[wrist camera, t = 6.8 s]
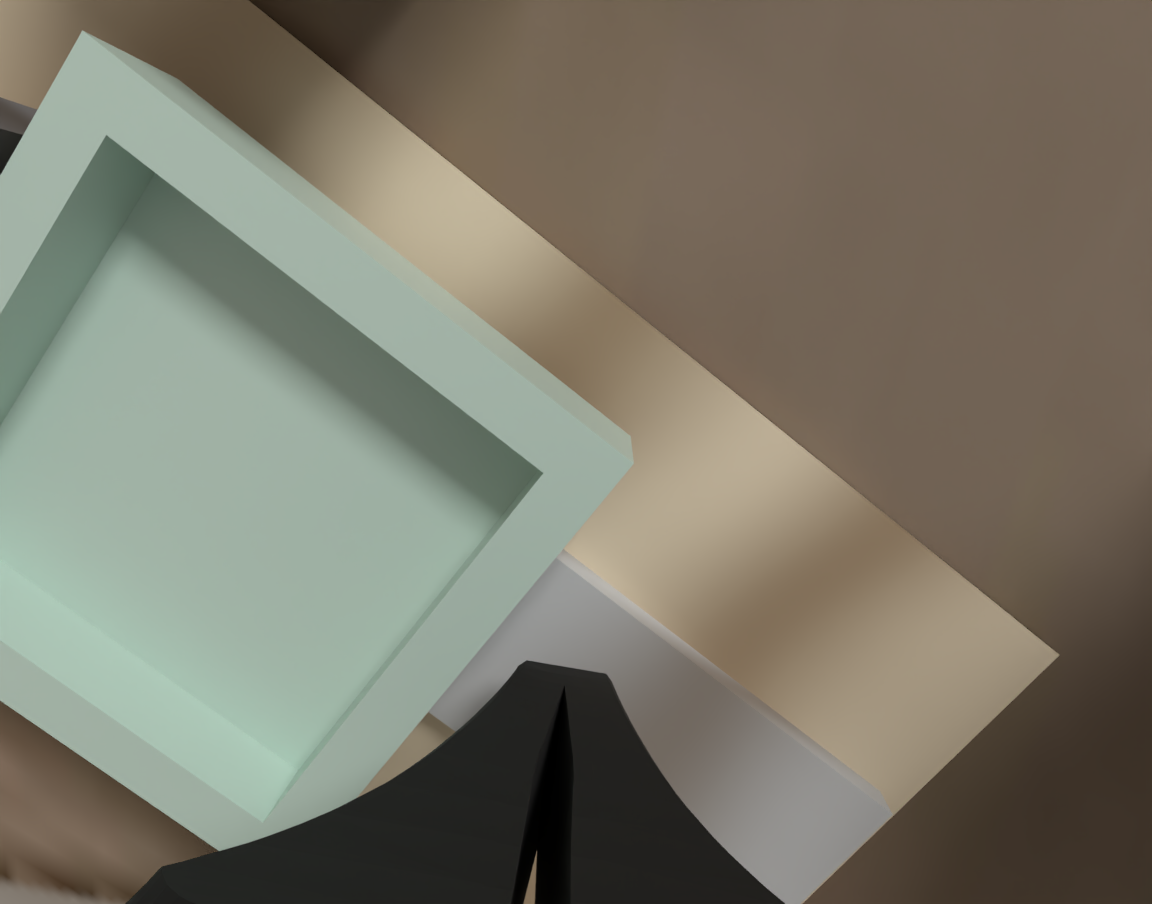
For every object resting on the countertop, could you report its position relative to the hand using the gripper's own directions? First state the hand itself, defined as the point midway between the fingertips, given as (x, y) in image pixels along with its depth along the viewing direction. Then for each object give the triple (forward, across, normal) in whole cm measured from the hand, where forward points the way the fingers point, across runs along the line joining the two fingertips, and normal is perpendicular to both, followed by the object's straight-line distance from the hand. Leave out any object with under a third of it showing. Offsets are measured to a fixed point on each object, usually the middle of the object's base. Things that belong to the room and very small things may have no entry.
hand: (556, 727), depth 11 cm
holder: (+1, +5, -3) cm, 6 cm away
